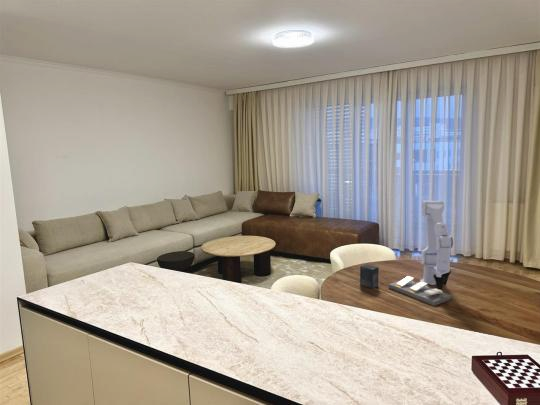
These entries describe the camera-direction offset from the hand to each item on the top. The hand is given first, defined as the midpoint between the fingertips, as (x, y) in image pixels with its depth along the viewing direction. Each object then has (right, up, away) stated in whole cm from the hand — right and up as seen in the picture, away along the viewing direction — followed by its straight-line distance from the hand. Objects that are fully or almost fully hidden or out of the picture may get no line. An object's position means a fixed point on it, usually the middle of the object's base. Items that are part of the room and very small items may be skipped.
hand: (441, 286), depth 174 cm
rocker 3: (-6, -2, -3) cm, 7 cm away
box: (-31, -3, +15) cm, 35 cm away
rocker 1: (-14, 0, +10) cm, 17 cm away
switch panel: (-10, -4, +4) cm, 11 cm away
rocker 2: (-10, -1, +3) cm, 10 cm away
